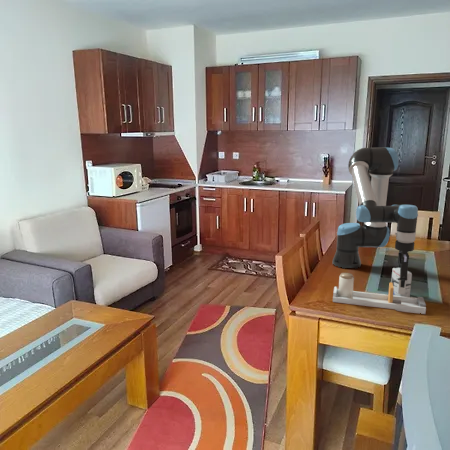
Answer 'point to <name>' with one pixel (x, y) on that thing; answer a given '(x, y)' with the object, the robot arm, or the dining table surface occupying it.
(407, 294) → the ink box
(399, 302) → the pusher
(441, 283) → the dining table surface
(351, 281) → the jar
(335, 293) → the tray
